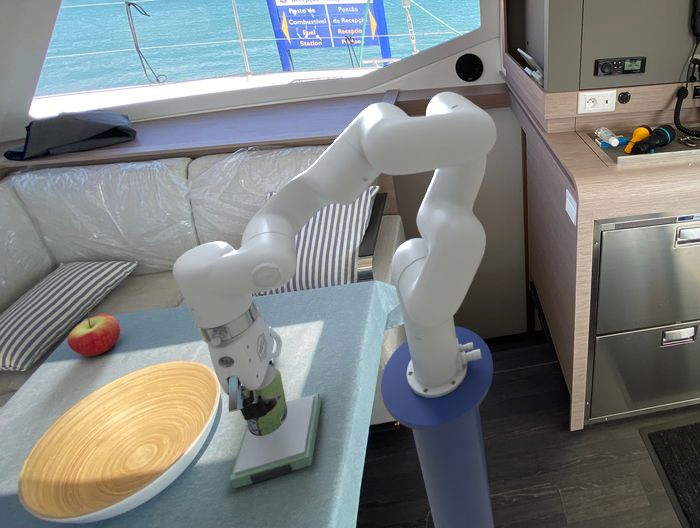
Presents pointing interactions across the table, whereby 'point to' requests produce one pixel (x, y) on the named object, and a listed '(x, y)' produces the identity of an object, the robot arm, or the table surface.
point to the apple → (94, 335)
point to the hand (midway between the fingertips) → (262, 396)
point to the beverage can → (269, 404)
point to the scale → (279, 445)
